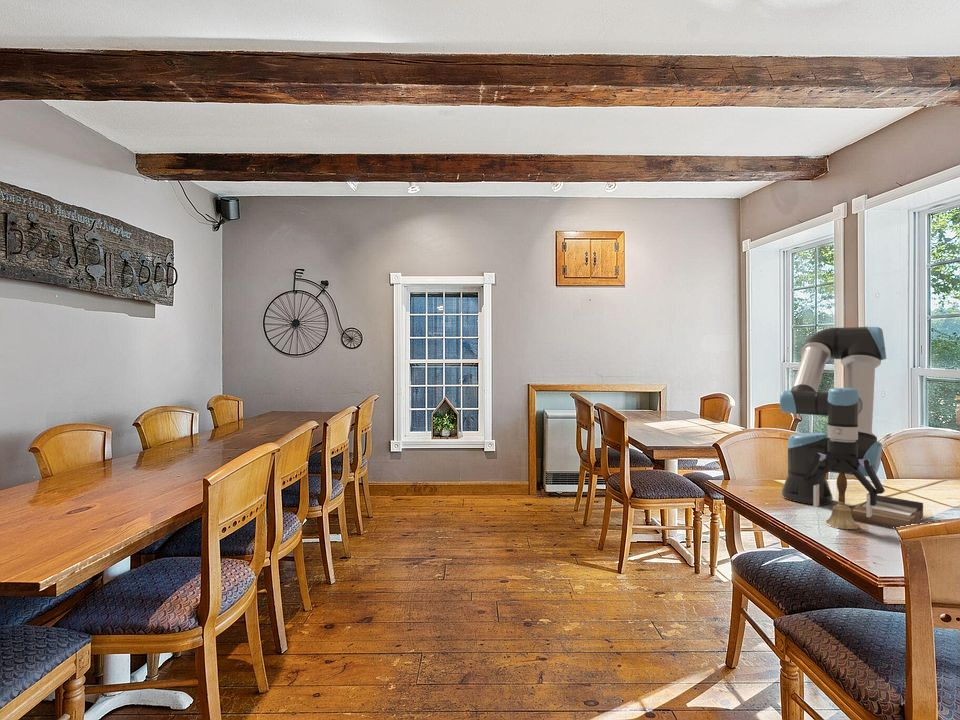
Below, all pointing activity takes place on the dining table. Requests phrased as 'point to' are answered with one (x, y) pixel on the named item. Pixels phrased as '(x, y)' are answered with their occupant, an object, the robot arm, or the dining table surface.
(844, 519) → the hand bell
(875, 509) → the brown wooden display stand
